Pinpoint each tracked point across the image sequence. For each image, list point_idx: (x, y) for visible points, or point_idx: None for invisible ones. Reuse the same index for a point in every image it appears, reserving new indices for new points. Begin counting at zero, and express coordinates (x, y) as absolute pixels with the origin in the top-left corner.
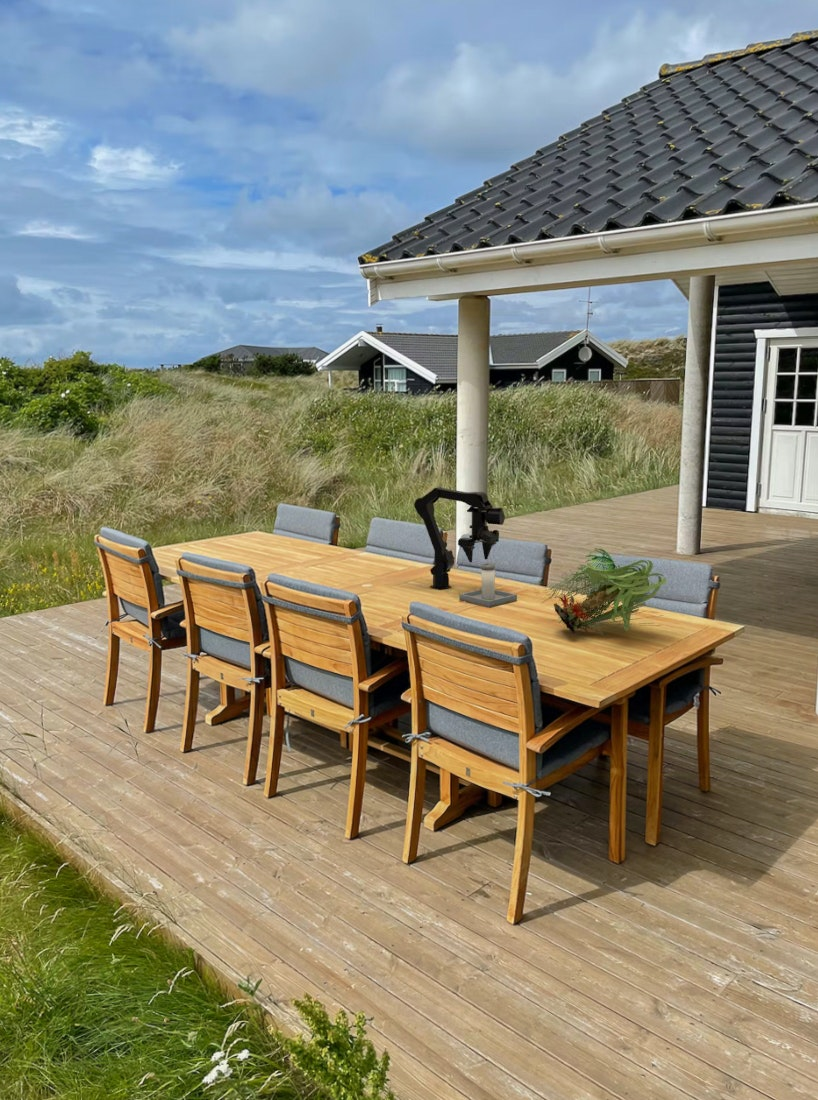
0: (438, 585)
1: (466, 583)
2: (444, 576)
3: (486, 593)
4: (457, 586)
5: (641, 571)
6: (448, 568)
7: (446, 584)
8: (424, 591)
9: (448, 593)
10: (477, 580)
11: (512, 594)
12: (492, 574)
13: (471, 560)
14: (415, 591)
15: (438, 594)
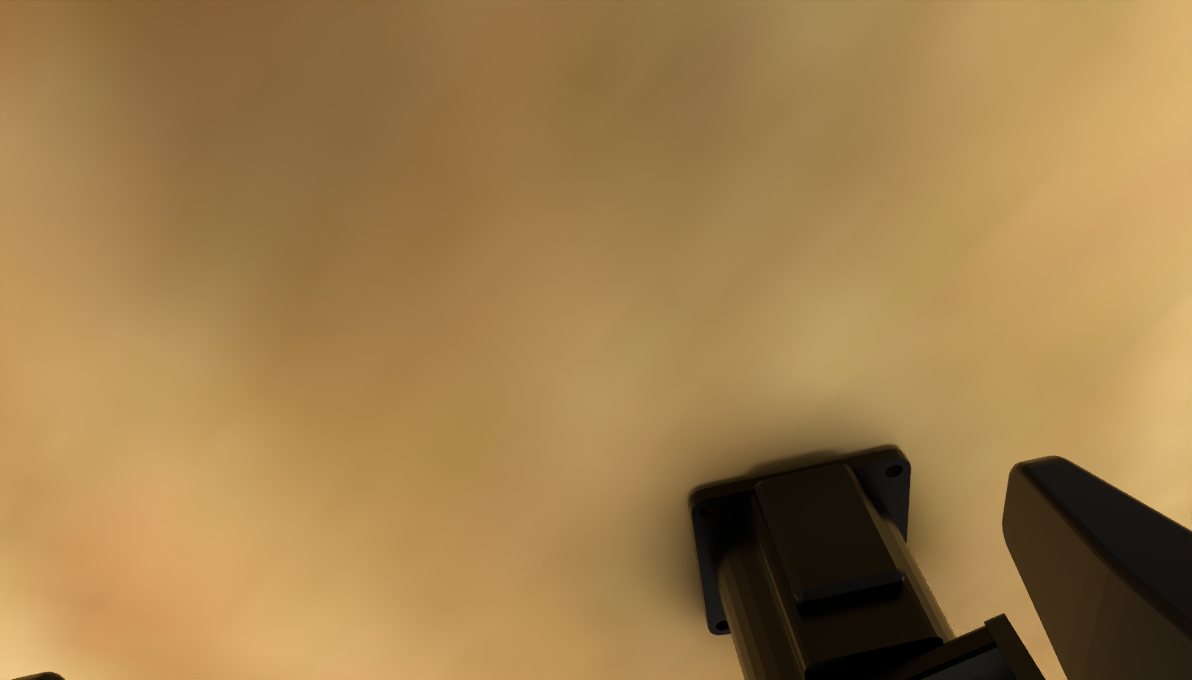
0: (895, 529)
1: (356, 582)
2: (893, 612)
3: None
4: (572, 505)
5: None
6: None
7: (823, 500)
8: (1104, 461)
9: (980, 237)
10: (116, 651)
11: None
12: None
13: (1114, 507)
14: (1171, 499)
15: (1131, 255)
